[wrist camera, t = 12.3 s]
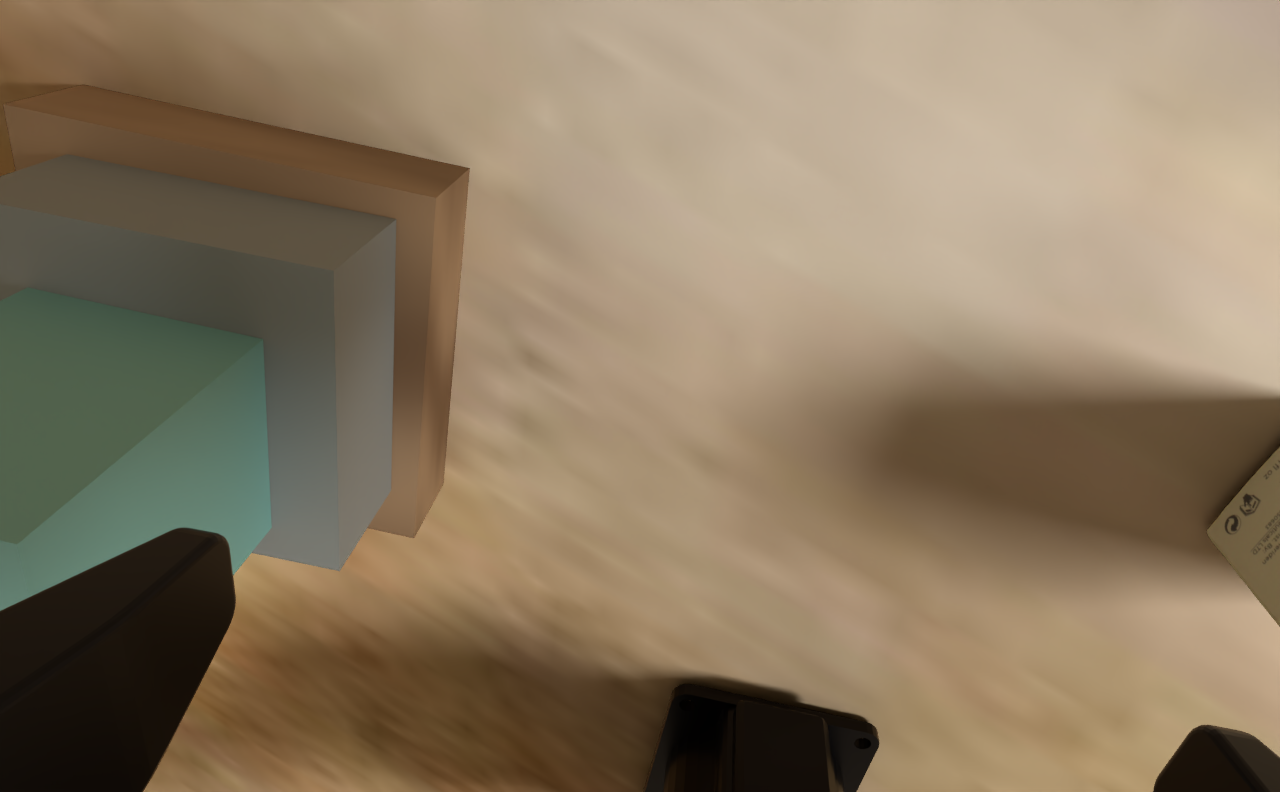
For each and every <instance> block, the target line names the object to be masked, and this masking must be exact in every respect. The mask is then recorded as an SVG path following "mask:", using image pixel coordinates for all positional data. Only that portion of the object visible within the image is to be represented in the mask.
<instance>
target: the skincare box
mask: <svg viewBox="0 0 1280 792" xmlns="http://www.w3.org/2000/svg"><path fill="white" fill-rule="evenodd" d="M1207 535H1208V536H1209V538H1210V540H1211V541H1212V542H1213V543H1214V545H1215V546H1216V547H1217V548H1218V549H1219V551H1220V552H1221V553H1222V555H1223V556H1224V557H1225V558H1226V559H1227V561H1228V562H1229V563H1230V565H1231V566H1232V567H1233V568H1234V570H1235V571H1236V572H1237V574H1238V575H1239V576H1240V578H1241V579H1242V580H1243V581H1244V582H1245V583H1246V585H1247V586H1248V587H1249V589H1250V590H1251V591H1252V592H1253V594H1254V595H1255V596H1256V598H1257V599H1258V600H1259V602H1260V603H1261V604H1262V605H1263V607H1264V608H1265V609H1266V610H1267V611H1268V613H1269V614H1270V615H1271V616H1272V618H1273V619H1274V620H1275V621H1276V623H1277V624H1278V625H1279V626H1280V447H1279V448H1278V449H1277V450H1276V451H1275V452H1274V453H1273V454H1272V455H1271V457H1270V458H1269V459H1268V460H1267V461H1266V462H1265V463H1264V464H1263V465H1262V466H1261V468H1260V469H1259V470H1258V471H1257V472H1256V474H1255V475H1253V476H1252V477H1251V479H1250V480H1249V481H1248V482H1247V483H1246V484H1245V486H1244V487H1243V488H1242V489H1241V490H1240V491H1239V493H1238V494H1237V495H1236V496H1235V497H1234V498H1233V500H1232V501H1231V502H1230V503H1229V504H1228V505H1227V506H1226V508H1225V509H1224V510H1223V511H1222V513H1221V514H1220V515H1219V517H1218V518H1217V519H1216V520H1215V521H1214V523H1213V524H1212V525H1211V526H1210V527H1209V528H1208V530H1207Z"/></svg>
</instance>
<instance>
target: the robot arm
mask: <svg viewBox="0 0 1280 792" xmlns="http://www.w3.org/2000/svg"><path fill="white" fill-rule="evenodd" d="M235 603H236V596H235V588H234V580H233V571H232V563H231V554H230V547H229V543H228V541H227V540H226V538H225V537H224V536H222V535H220V534H218V533H214V532H208V531H203V530H198V529H193V528H188V527H181V528H176V529H174V530H171V531H169V532H166V533H164V534H162V535H160V536H158V537H156V538H154V539H152V540H149V541H147V542H145V543H143V544H141V545H139V546H137V547H135V548H132V549H130V550H128V551H126V552H124V553H122V554H120V555H118V556H115V557H113V558H111V559H109V560H107V561H105V562H103V563H101V564H98V565H96V566H94V567H92V568H90V569H88V570H86V571H84V572H82V573H79V574H77V575H75V576H73V577H71V578H69V579H67V580H65V581H62V582H60V583H58V584H56V585H54V586H52V587H50V588H48V589H45V590H43V591H41V592H39V593H37V594H35V595H33V596H31V597H28V598H26V599H24V600H22V601H20V602H18V603H16V604H14V605H11V606H9V607H7V608H5V609H3V610H1V611H0V792H143V791H144V789H145V788H146V786H147V784H148V783H149V781H150V779H151V778H152V776H153V774H154V772H155V771H156V769H157V767H158V765H159V763H160V761H161V759H162V758H163V756H164V754H165V752H166V750H167V748H168V746H169V744H170V742H171V740H172V738H173V736H174V734H175V732H176V730H177V728H178V726H179V725H180V723H181V721H182V719H183V717H184V715H185V713H186V711H187V709H188V707H189V705H190V703H191V701H192V699H193V697H194V695H195V693H196V691H197V689H198V687H199V685H200V683H201V681H202V679H203V677H204V675H205V673H206V671H207V669H208V667H209V665H210V663H211V661H212V659H213V657H214V655H215V653H216V651H217V649H218V647H219V645H220V644H221V642H222V640H223V638H224V636H225V634H226V632H227V630H228V628H229V626H230V623H231V621H232V618H233V615H234V610H235ZM685 700H690V701H685ZM878 747H879V738H878V732H877V729H876V727H874V726H873V725H872V724H870V723H867V722H863V721H858V720H854V719H849V718H844V717H840V716H835V715H830V714H826V713H821V712H817V711H812V710H807V709H803V708H798V707H793V706H789V705H784V704H780V703H775V702H770V701H766V700H761V699H756V698H752V697H747V696H742V695H738V694H733V693H729V692H724V691H719V690H715V689H710V688H705V687H701V686H696V685H692V684H683V685H679V686H677V687H676V688H675V689H674V690H673V692H672V695H671V699H670V702H669V705H668V709H667V712H666V716H665V719H664V722H663V726H662V729H661V733H660V736H659V740H658V743H657V746H656V750H655V753H654V757H653V760H652V763H651V767H650V770H649V774H648V777H647V780H646V784H645V787H644V791H643V792H856V791H857V789H858V787H859V785H860V783H861V781H862V779H863V777H864V775H865V773H866V771H867V769H868V767H869V765H870V763H871V761H872V759H873V757H874V755H875V753H876V751H877V749H878ZM1153 792H1280V757H1279V756H1277V755H1276V754H1275V753H1274V752H1273V751H1271V750H1270V749H1269V748H1268V747H1267V746H1266V745H1264V744H1263V743H1262V742H1261V741H1260V740H1258V739H1257V738H1256V737H1254V736H1252V735H1250V734H1248V733H1245V732H1243V731H1238V730H1233V729H1228V728H1222V727H1217V726H1212V725H1201V726H1198V727H1196V728H1194V729H1193V730H1192V731H1191V732H1190V733H1189V734H1188V735H1187V737H1186V738H1185V740H1184V741H1183V742H1182V744H1181V745H1180V746H1179V748H1178V749H1177V751H1176V752H1175V753H1174V755H1173V756H1172V758H1171V759H1170V760H1169V762H1168V763H1167V764H1166V766H1165V767H1164V769H1163V770H1162V771H1161V773H1160V774H1159V776H1158V777H1157V779H1156V782H1155V785H1154V791H1153Z"/></svg>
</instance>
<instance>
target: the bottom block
mask: <svg viewBox="0 0 1280 792" xmlns="http://www.w3.org/2000/svg"><path fill="white" fill-rule="evenodd" d="M3 107H4V112H5V117H6V123H7V128H8V133H9V139H10V144H11V149H12V155H13V160H14V165H15V170H16V171H18V170H21V169H24V168H27V167H30V166H33V165H36V164H39V163H42V162H45V161H48V160H51V159H54V158H57V157H60V156H63V155H66V154H69V155H74V156H79V157H84V158H89V159H95V160H100V161H105V162H110V163H115V164H120V165H125V166H130V167H135V168H140V169H146V170H151V171H156V172H161V173H166V174H171V175H176V176H181V177H186V178H191V179H197V180H202V181H207V182H212V183H217V184H222V185H227V186H232V187H237V188H242V189H247V190H252V191H257V192H262V193H267V194H272V195H277V196H282V197H287V198H292V199H297V200H302V201H308V202H313V203H318V204H323V205H328V206H333V207H338V208H343V209H348V210H353V211H358V212H363V213H368V214H373V215H378V216H383V217H388V218H393V219H396V261H395V313H394V365H393V417H392V470H391V491H390V493H389V495H388V496H387V498H386V499H385V501H384V502H383V504H382V505H381V507H380V509H379V510H378V512H377V513H376V515H375V516H374V518H373V520H372V521H371V523H370V524H369V526H368V527H367V528H370V529H374V530H379V531H383V532H388V533H392V534H397V535H402V536H406V537H411V538H414V537H415V535H416V534H417V532H418V530H419V528H420V526H421V524H422V523H423V521H424V519H425V517H426V515H427V513H428V511H429V510H430V508H431V506H432V504H433V502H434V500H435V499H436V497H437V495H438V493H439V491H440V489H441V487H442V486H443V482H444V470H445V458H446V446H447V434H448V422H449V410H450V398H451V386H452V374H453V362H454V350H455V338H456V326H457V314H458V302H459V290H460V278H461V266H462V254H463V242H464V230H465V218H466V206H467V194H468V182H469V170H470V168H466V167H461V166H456V165H452V164H447V163H442V162H438V161H433V160H429V159H424V158H419V157H415V156H410V155H406V154H401V153H396V152H392V151H387V150H382V149H378V148H373V147H369V146H364V145H359V144H355V143H350V142H345V141H341V140H336V139H332V138H327V137H322V136H318V135H313V134H309V133H304V132H299V131H295V130H290V129H285V128H281V127H276V126H272V125H267V124H262V123H258V122H253V121H248V120H244V119H239V118H235V117H230V116H225V115H221V114H216V113H211V112H207V111H202V110H198V109H193V108H188V107H184V106H179V105H175V104H170V103H165V102H161V101H156V100H151V99H147V98H142V97H138V96H133V95H128V94H124V93H119V92H114V91H110V90H105V89H101V88H96V87H91V86H87V85H80V86H76V87H71V88H67V89H63V90H59V91H55V92H51V93H47V94H43V95H38V96H34V97H30V98H26V99H22V100H18V101H14V102H10V103H5V104H3Z"/></svg>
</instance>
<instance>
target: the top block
mask: <svg viewBox="0 0 1280 792" xmlns="http://www.w3.org/2000/svg"><path fill="white" fill-rule="evenodd" d="M395 261H396V219H393V218H388V217H383V216H378V215H373V214H368V213H363V212H358V211H353V210H348V209H343V208H338V207H333V206H328V205H323V204H318V203H313V202H308V201H302V200H297V199H292V198H287V197H282V196H277V195H272V194H267V193H262V192H257V191H252V190H247V189H242V188H237V187H232V186H227V185H222V184H217V183H212V182H207V181H202V180H197V179H191V178H186V177H181V176H176V175H171V174H166V173H161V172H156V171H151V170H146V169H140V168H135V167H130V166H125V165H120V164H115V163H110V162H105V161H100V160H95V159H89V158H84V157H79V156H74V155H69V154H66V155H63V156H60V157H57V158H54V159H51V160H48V161H45V162H42V163H39V164H36V165H33V166H30V167H27V168H24V169H21V170H18V171H15V172H12V173H9V174H6V175H3V176H0V301H1V300H3V299H5V298H7V297H9V296H11V295H13V294H15V293H17V292H19V291H21V290H23V289H25V288H27V287H28V288H33V289H37V290H42V291H46V292H51V293H56V294H60V295H65V296H69V297H74V298H78V299H83V300H87V301H92V302H97V303H101V304H106V305H110V306H115V307H119V308H124V309H128V310H133V311H138V312H142V313H147V314H151V315H156V316H160V317H165V318H169V319H174V320H178V321H183V322H188V323H192V324H197V325H201V326H206V327H210V328H215V329H219V330H224V331H229V332H233V333H238V334H242V335H247V336H251V337H256V338H260V339H263V348H264V369H265V391H266V413H267V435H268V457H269V479H270V501H271V523H272V528H271V529H270V530H269V532H268V533H267V534H266V535H265V536H264V538H263V539H262V540H261V541H260V543H259V544H258V545H257V546H256V548H255V549H254V550H253V551H252V553H255V554H260V555H265V556H270V557H274V558H279V559H284V560H289V561H294V562H299V563H303V564H308V565H313V566H318V567H323V568H328V569H332V570H337V571H340V570H341V568H342V566H343V565H344V563H345V562H346V560H347V559H348V557H349V556H350V554H351V552H352V551H353V549H354V548H355V546H356V545H357V543H358V541H359V540H360V538H361V537H362V535H363V534H364V532H365V530H366V529H367V527H368V526H369V524H370V523H371V521H372V520H373V518H374V516H375V515H376V513H377V512H378V510H379V509H380V507H381V505H382V504H383V502H384V501H385V499H386V498H387V496H388V495H389V493H390V491H391V470H392V417H393V365H394V313H395Z"/></svg>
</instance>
